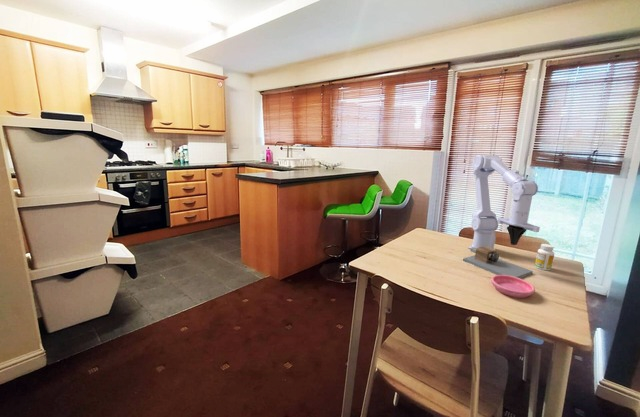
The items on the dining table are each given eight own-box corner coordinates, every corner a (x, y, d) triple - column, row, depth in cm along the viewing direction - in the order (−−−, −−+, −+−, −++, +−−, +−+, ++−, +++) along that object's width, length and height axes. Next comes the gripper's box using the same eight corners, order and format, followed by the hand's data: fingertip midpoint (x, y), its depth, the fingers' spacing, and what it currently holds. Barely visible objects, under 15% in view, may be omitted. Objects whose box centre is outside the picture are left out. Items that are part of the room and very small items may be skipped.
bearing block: (483, 256, 125) (485, 245, 124) (494, 260, 121) (496, 249, 119) (474, 258, 122) (476, 248, 121) (485, 263, 118) (487, 252, 117)
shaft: (474, 252, 127) (475, 244, 126) (498, 261, 118) (499, 253, 117) (468, 253, 125) (470, 246, 125) (492, 262, 116) (494, 254, 116)
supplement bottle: (548, 266, 119) (553, 244, 117) (552, 271, 114) (558, 248, 112) (533, 264, 121) (537, 242, 119) (536, 269, 116) (541, 246, 114)
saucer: (517, 304, 90) (519, 295, 90) (481, 285, 101) (483, 277, 101) (541, 296, 95) (543, 288, 94) (505, 280, 106) (506, 272, 106)
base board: (482, 255, 129) (483, 253, 129) (532, 273, 112) (532, 271, 112) (462, 260, 122) (463, 258, 122) (512, 280, 105) (512, 278, 105)
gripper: (495, 208, 117) (490, 240, 120) (535, 217, 105) (528, 252, 108) (505, 207, 121) (499, 237, 124) (545, 215, 108) (537, 249, 111)
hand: (513, 244), depth 116 cm, fingers closed
